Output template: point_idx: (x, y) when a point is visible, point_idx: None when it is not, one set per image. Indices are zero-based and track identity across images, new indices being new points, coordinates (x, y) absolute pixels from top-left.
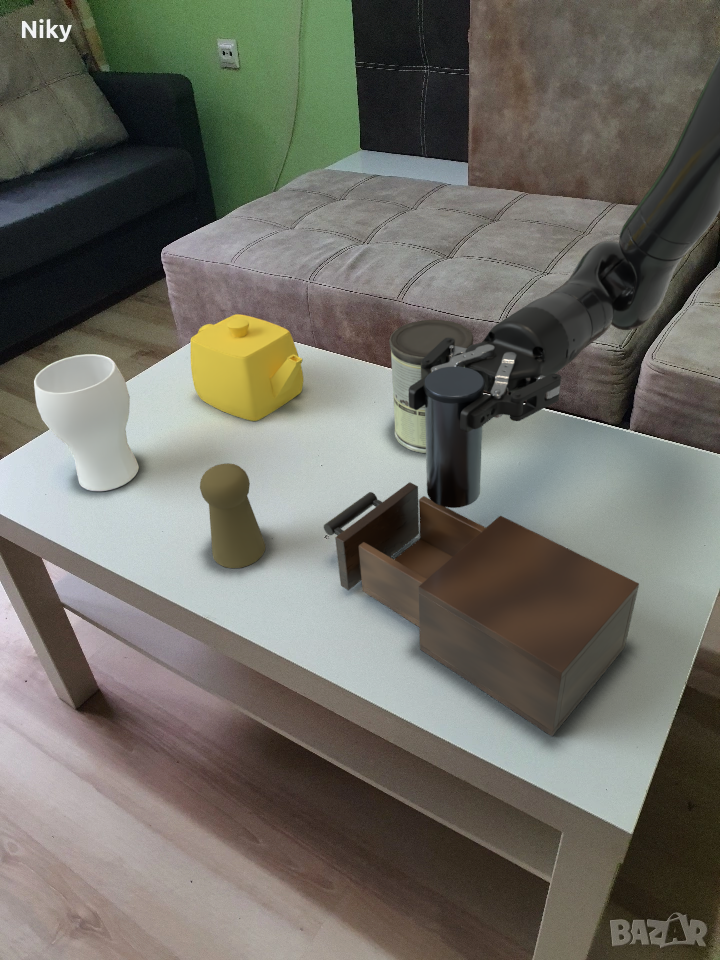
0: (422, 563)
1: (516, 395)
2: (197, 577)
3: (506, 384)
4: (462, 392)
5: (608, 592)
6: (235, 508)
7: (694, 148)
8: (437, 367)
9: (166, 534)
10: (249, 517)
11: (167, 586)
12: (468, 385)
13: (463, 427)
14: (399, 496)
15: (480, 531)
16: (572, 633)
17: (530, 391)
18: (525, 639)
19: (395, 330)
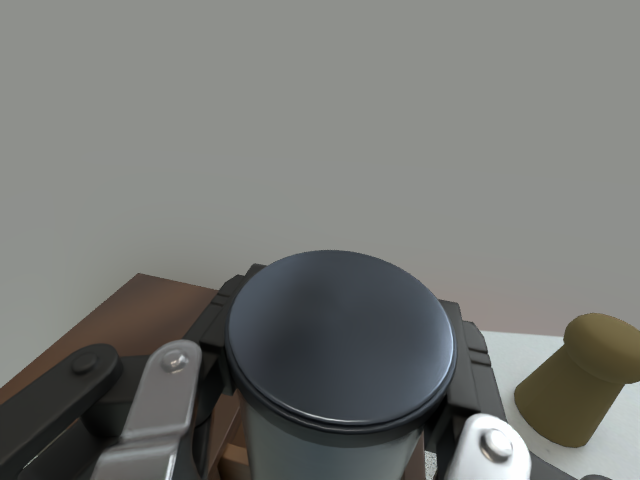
0: None
1: (93, 355)
2: (531, 359)
3: (125, 428)
4: (285, 270)
5: (47, 369)
6: (564, 350)
7: None
8: (501, 447)
9: (634, 397)
10: (555, 378)
11: (536, 340)
12: (279, 300)
13: None
14: (411, 473)
15: (242, 448)
16: (118, 305)
17: (8, 410)
18: (169, 287)
19: None
